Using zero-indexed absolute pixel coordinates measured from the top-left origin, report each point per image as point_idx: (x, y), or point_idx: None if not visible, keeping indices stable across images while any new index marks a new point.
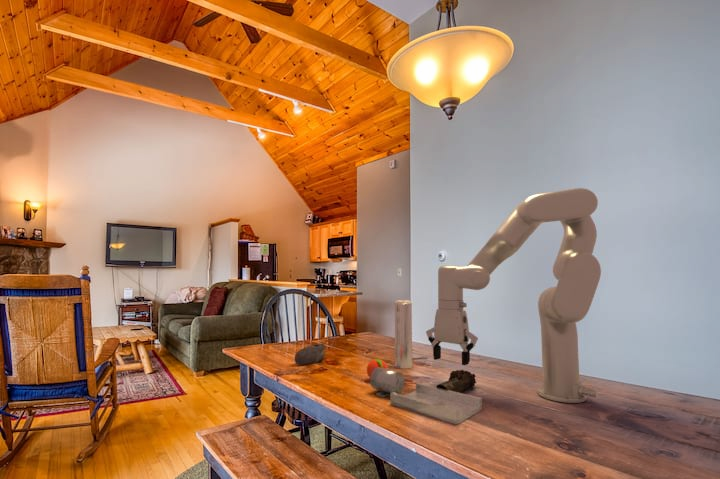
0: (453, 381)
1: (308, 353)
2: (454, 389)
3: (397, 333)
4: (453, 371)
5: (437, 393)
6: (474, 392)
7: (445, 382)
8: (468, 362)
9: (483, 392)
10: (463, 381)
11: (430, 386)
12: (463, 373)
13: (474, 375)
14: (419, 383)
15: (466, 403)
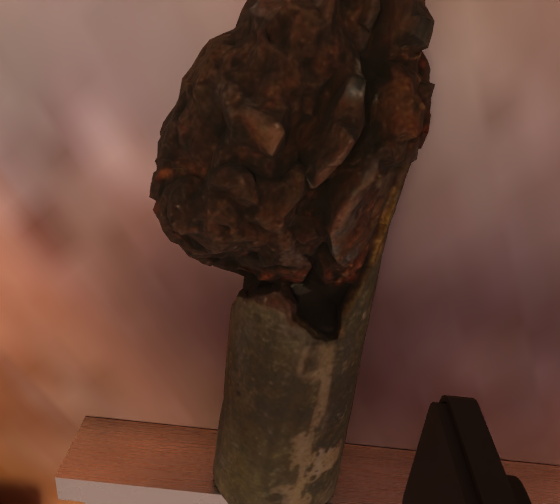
0: (312, 415)
1: None
2: (346, 430)
3: None
4: (189, 224)
5: None
6: (438, 163)
7: (268, 473)
8: (475, 416)
9: (521, 108)
10: (367, 293)
11: (182, 501)
12: (316, 180)
13: (430, 24)
14: (74, 485)
15: None
